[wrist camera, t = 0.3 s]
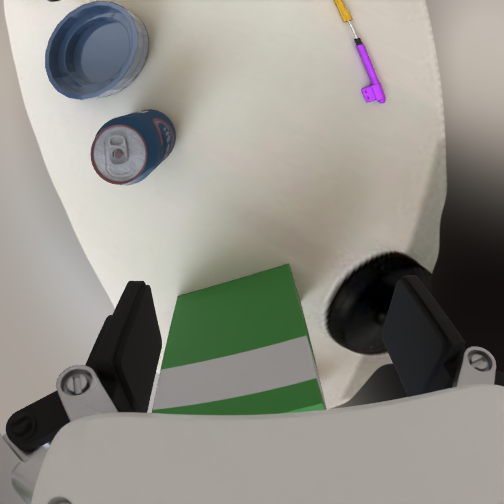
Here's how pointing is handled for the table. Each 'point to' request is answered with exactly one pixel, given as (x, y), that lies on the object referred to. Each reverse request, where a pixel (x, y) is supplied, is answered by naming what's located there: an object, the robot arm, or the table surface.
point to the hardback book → (240, 351)
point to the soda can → (132, 146)
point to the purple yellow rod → (364, 61)
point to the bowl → (96, 51)
